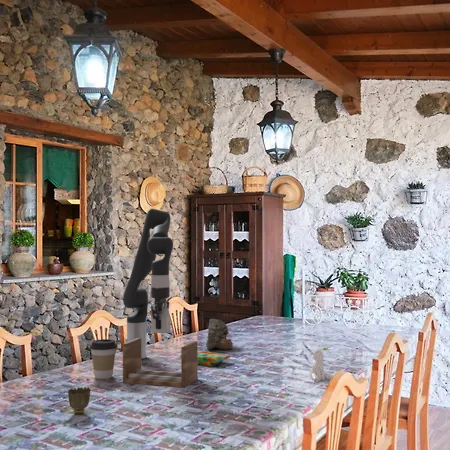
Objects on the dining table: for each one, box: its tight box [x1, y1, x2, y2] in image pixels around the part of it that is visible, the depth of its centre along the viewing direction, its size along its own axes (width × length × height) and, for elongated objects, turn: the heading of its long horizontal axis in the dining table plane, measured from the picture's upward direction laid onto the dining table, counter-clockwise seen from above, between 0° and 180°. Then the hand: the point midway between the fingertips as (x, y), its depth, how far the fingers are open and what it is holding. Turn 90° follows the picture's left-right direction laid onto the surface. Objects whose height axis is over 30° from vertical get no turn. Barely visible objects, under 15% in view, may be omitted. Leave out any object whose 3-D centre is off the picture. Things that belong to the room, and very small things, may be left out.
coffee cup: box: [89, 338, 118, 380], centre depth 255 cm, size 11×11×15 cm
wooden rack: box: [122, 338, 199, 388], centre depth 249 cm, size 27×14×16 cm, turn 72°
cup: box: [67, 386, 91, 415], centre depth 205 cm, size 8×7×8 cm
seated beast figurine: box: [309, 349, 334, 383], centre depth 251 cm, size 10×9×12 cm
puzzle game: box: [197, 349, 231, 367], centre depth 282 cm, size 12×5×20 cm
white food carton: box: [150, 307, 171, 334], centre depth 248 cm, size 4×7×10 cm, turn 72°
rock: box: [205, 317, 234, 351], centre depth 316 cm, size 18×14×15 cm
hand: (160, 328), depth 248 cm, fingers closed on white food carton, 3 cm apart
